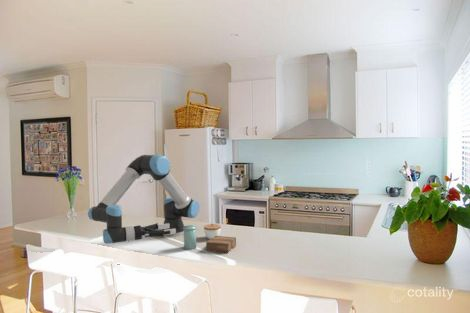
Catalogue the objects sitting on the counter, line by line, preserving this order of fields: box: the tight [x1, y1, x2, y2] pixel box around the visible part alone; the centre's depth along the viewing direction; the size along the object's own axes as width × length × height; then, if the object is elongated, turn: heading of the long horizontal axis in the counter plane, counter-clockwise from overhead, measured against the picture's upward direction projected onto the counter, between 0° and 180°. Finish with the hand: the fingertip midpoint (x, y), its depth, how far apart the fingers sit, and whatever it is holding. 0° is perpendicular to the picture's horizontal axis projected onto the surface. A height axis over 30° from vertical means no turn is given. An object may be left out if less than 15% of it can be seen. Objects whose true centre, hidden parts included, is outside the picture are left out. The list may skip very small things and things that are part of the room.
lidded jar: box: [203, 222, 222, 240], centre depth 218 cm, size 11×11×9 cm
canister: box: [183, 225, 197, 251], centre depth 200 cm, size 8×8×12 cm
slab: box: [205, 235, 237, 253], centre depth 198 cm, size 13×13×5 cm
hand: (172, 228), depth 195 cm, fingers open, 13 cm apart
